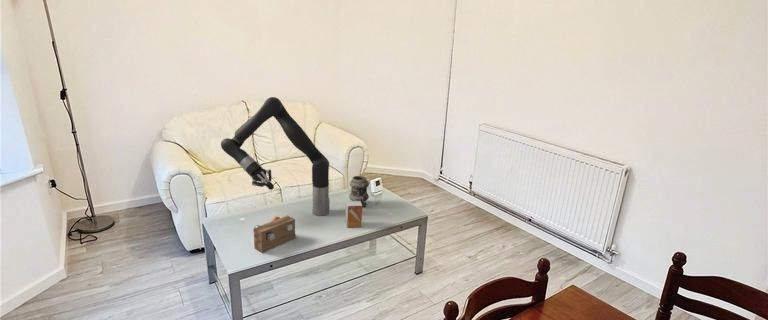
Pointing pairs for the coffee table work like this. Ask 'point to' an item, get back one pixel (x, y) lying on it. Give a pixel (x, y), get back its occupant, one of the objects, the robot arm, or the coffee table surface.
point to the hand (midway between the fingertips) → (272, 188)
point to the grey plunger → (268, 234)
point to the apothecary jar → (359, 189)
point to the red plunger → (288, 227)
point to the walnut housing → (276, 228)
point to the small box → (353, 214)
